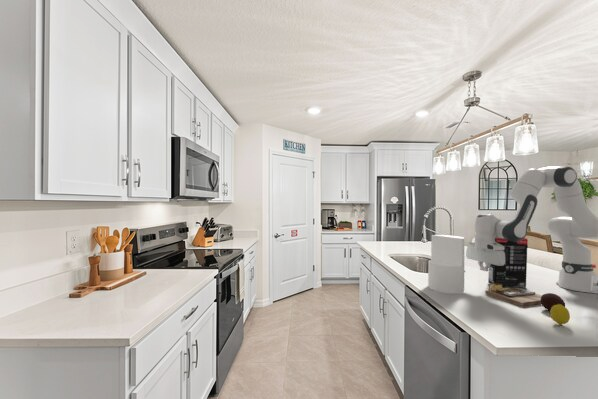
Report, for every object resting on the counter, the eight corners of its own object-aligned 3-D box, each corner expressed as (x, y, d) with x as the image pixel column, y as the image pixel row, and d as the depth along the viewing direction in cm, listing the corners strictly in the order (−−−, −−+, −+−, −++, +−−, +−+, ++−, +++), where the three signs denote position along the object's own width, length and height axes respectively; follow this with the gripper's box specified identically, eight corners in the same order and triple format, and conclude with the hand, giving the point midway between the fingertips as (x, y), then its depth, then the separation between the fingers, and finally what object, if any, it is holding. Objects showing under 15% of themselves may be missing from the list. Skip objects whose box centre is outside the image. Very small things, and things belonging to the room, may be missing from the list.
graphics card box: (519, 284, 163) (519, 236, 163) (528, 288, 156) (528, 238, 156) (487, 283, 165) (488, 236, 165) (494, 287, 158) (495, 237, 158)
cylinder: (440, 282, 166) (440, 234, 166) (470, 290, 151) (471, 237, 152) (421, 286, 157) (421, 235, 157) (452, 295, 142) (452, 239, 143)
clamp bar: (528, 292, 142) (528, 290, 142) (535, 294, 140) (535, 292, 140) (503, 293, 138) (503, 291, 138) (510, 295, 135) (510, 293, 135)
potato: (547, 314, 120) (547, 296, 120) (535, 306, 128) (535, 289, 129) (570, 316, 117) (570, 298, 117) (557, 308, 126) (557, 291, 126)
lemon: (546, 322, 112) (546, 301, 112) (559, 321, 112) (559, 301, 112) (560, 328, 106) (560, 306, 106) (574, 328, 107) (574, 306, 107)
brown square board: (514, 291, 151) (514, 287, 151) (553, 303, 133) (553, 298, 133) (485, 294, 145) (485, 290, 145) (522, 307, 128) (522, 302, 128)
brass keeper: (496, 289, 146) (496, 282, 146) (507, 292, 140) (507, 286, 140) (490, 289, 145) (490, 283, 145) (501, 293, 139) (501, 286, 139)
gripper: (463, 241, 159) (462, 266, 159) (498, 247, 140) (497, 275, 140) (472, 241, 161) (471, 265, 161) (507, 247, 142) (507, 275, 142)
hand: (484, 270), depth 150 cm, fingers closed
